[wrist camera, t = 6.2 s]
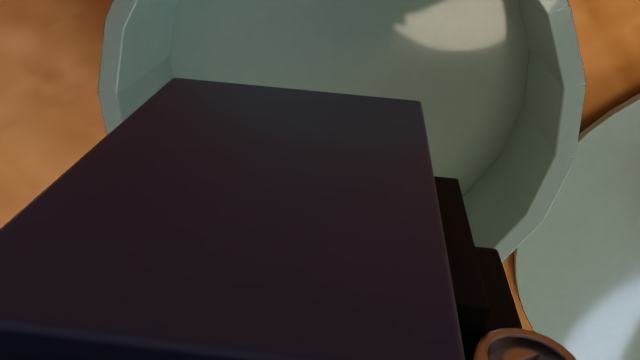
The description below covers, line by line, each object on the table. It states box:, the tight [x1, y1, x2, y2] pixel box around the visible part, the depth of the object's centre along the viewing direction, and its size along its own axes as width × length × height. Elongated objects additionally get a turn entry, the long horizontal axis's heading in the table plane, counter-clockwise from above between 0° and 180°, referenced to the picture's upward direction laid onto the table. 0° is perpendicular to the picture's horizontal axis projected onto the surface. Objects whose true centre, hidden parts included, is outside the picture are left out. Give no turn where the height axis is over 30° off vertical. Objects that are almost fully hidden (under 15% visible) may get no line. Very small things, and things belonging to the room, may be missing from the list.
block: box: [0, 78, 465, 360], centre depth 10 cm, size 5×5×8 cm
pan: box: [98, 0, 586, 262], centre depth 23 cm, size 16×16×6 cm
